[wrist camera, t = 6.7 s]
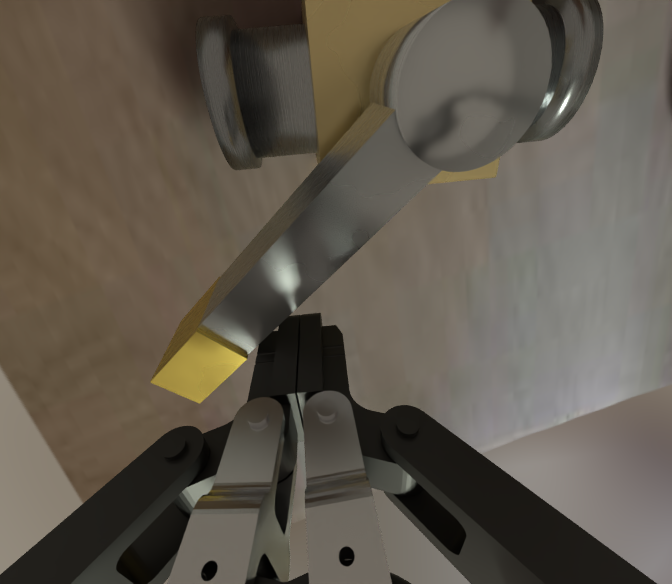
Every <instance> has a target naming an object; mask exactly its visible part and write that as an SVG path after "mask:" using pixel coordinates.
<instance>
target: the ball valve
mask: <svg viewBox="0 0 672 584" xmlns="http://www.w3.org/2000/svg"><path fill="white" fill-rule="evenodd" d="M449 1H451V0H302V21H303V24H295V25H283V26H271V27H259V28H247V29H238V28H237V25H236V23H235V21H234V19H233V17H232V16H231V15H223V16H210V17H200V18H199V19H198V21H197V25H196V49H197V58H198V65H199V72H200V77H201V82H202V87H203V92H204V96H205V100H206V104H207V108H208V112H209V115H210V119H211V122H212V125H213V128H214V131H215V134H216V137H217V140H218V142H219V145H220V147H221V150H222V152H223V154H224V156H225V158H226V160H227V162H228V163H229V165H230V166H231V167H232V168H233V169H234V170H244V169H254V168H260V167H261V165H262V158H265V157H276V156H286V155H297V154H307V153H316V157H317V163H318V164H319V163H320V162H321V161H322V160H323V158H324V157H325V156H326V155H327V154H328V153H329V151H330V150H331V149H332V148H333V147H334V146H335V145H336V143H337V142H338V141H339V140H340V139H341V138H342V137H343V135H344V134H345V133H346V132H347V131H348V130H349V128H350V127H351V126H352V125H353V124H354V123H355V122H356V120H357V119H358V118H359V117H360V116H361V115H362V114H363V112H364V111H365V110H366V109H367V108H368V107H369V105H370V93H369V90H370V80H371V75H372V71H373V68H374V65H375V62H376V60H377V58H378V56H379V54H380V52H381V50H382V49H383V47H384V46H385V44H386V43H387V42H388V40H389V39H390V38H391V37H392V36H393V35H394V34H395V33H396V32H397V31H399V30H400V29H401V28H403V27H404V26H406V25H407V24H409V23H411V22H413V21H414V20H416V19H418V18H420V17H422V16H423V15H425V14H427V13H429V12H431V11H433V10H434V9H436V8H438V7H440V6H442V5H443V4H445V3H447V2H449ZM530 1H531V2H532V3H533V4H534V5H535V6H536V8H537V9H538V10H539V12H540V13H541V15H542V17H543V19H544V20H545V23H546V26H547V28H548V31H549V36H550V41H551V50H552V66H551V73H550V79H549V84H548V88H547V91H546V94H545V97H544V100H543V102H542V105H541V107H540V109H539V111H538V113H537V115H536V117H535V119H534V120H533V122H532V124H531V125H530V126H529V128H528V129H527V131H526V132H525V133H524V135H523V136H522V137H521V138H520V139H519V141H518V142H517V143H522V142H532V141H542V140H545V139H548V138H550V137H552V136H553V135H555V134H556V133H558V132H559V131H560V130H561V129H562V128H563V127H565V125H566V124H567V123H568V122H569V121H570V120H571V119H572V117H573V116H574V115H575V113H576V112H577V110H578V109H579V107H580V106H581V104H582V102H583V101H584V99H585V97H586V95H587V93H588V91H589V89H590V86H591V84H592V82H593V79H594V76H595V73H596V70H597V67H598V63H599V59H600V55H601V49H602V42H603V18H602V12H601V8H600V5H599V2H598V0H530ZM499 160H500V157H499V158H497V159H496V160H494V161H493V162H491V163H489V164H487V165H485V166H482V167H480V168H477V169H474V170H470V171H464V172H448V171H443V170H442V171H441V172H440V173H439V174H438V175H437V176H436V177H435V178H434V179H432V180H431V181H430V182H429V183H428V184H434V183H444V182H454V181H464V180H474V179H484V178H494V177H496V174H497V169H498V165H499Z"/></svg>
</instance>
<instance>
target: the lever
mask: <svg viewBox="0 0 672 584" xmlns="http://www.w3.org/2000/svg"><path fill="white" fill-rule="evenodd" d="M551 66H552V50H551V41H550V36H549V31H548V28H547V26H546V23H545V20H544V19H543V17H542V15H541V13H540V12H539V10H538V9H537V8H536V6H535V5H534V4H533V3H532V2H531V1H530V0H451V1H449V2H447V3H445V4H443V5H442V6H440V7H438V8H436V9H434V10H433V11H431V12H429V13H427V14H425V15H423V16H422V17H420V18H418V19H416V20H414V21H413V22H411V23H409V24H407V25H406V26H404V27H403V28H401V29H400V30H399V31H397V32H396V33H395V34H394V35H393V36H392V37H391V38H390V39H389V40H388V42H387V43H386V44H385V46H384V47H383V49H382V50H381V52H380V54H379V56H378V58H377V60H376V62H375V65H374V68H373V71H372V75H371V80H370V90H369V93H370V105H369V107H368V108H367V109H366V110H365V111H364V112H363V114H362V115H361V116H360V117H359V118H358V119H357V120H356V122H355V123H354V124H353V125H352V126H351V127H350V128H349V130H348V131H347V132H346V133H345V134H344V135H343V137H342V138H341V139H340V140H339V141H338V142H337V143H336V145H335V146H334V147H333V148H332V149H331V150H330V151H329V153H328V154H327V155H326V156H325V157H324V158H323V160H322V161H321V162H320V163H319V164H318V165H317V166H316V168H315V169H314V170H313V171H312V172H311V173H310V175H309V176H308V177H307V178H306V179H305V180H304V181H303V183H302V184H301V185H300V186H299V187H298V188H297V189H296V191H295V192H294V193H293V194H292V195H291V196H290V198H289V199H288V200H287V201H286V202H285V203H284V204H283V206H282V207H281V208H280V209H279V210H278V211H277V212H276V214H275V215H274V216H273V217H272V218H271V219H270V221H269V222H268V223H267V224H266V225H265V226H264V227H263V229H262V230H261V231H260V232H259V233H258V234H257V236H256V237H255V238H254V239H253V240H252V241H251V242H250V244H249V245H248V246H247V247H246V248H245V249H244V250H243V252H242V253H241V254H240V255H239V256H238V257H237V259H236V260H235V261H234V262H233V263H232V264H231V265H230V267H229V268H228V269H227V270H226V271H225V272H224V273H223V275H222V276H221V277H219V278H218V279H217V280H216V281H215V282H214V284H213V285H212V286H211V287H210V288H209V289H208V291H207V292H206V293H205V294H204V295H203V296H202V297H201V299H200V300H199V301H198V302H197V303H196V304H195V306H194V307H193V308H192V309H191V310H190V311H189V312H188V314H187V315H186V316H185V317H184V318H183V319H182V321H181V322H180V324H179V326H178V328H177V330H176V332H175V334H174V336H173V338H172V340H171V342H170V344H169V346H168V348H167V350H166V352H165V354H164V356H163V358H162V360H161V362H160V364H159V366H158V368H157V370H156V372H155V373H154V375H153V377H152V379H151V381H150V382H151V383H153V384H155V385H158V386H160V387H162V388H165V389H167V390H169V391H172V392H174V393H176V394H179V395H181V396H183V397H186V398H188V399H190V400H193V401H195V402H197V403H201V402H202V401H203V400H204V399H205V398H206V397H207V396H208V395H210V394H211V393H212V392H213V391H214V390H215V389H216V388H217V387H218V386H219V385H220V384H221V383H222V382H223V381H224V380H225V379H227V378H228V377H229V376H230V375H231V374H232V373H233V372H234V371H235V370H236V369H237V368H238V367H239V366H240V365H241V364H242V363H243V362H245V361H246V360H247V357H248V354H249V353H250V352H251V351H252V350H253V349H254V348H255V347H257V346H258V345H259V344H260V343H261V342H262V341H263V340H264V339H265V338H266V337H267V336H268V335H269V334H270V333H271V332H272V331H273V330H274V329H276V328H277V327H278V326H279V325H280V324H281V323H282V322H283V321H284V320H285V319H286V318H287V317H288V316H289V315H290V314H291V313H292V312H293V311H294V310H296V309H297V308H298V307H299V306H300V305H301V304H302V303H303V302H304V301H305V300H306V299H307V298H308V297H309V296H310V295H311V294H312V293H313V292H314V291H316V290H317V289H318V288H319V287H320V286H321V285H322V284H323V283H324V282H325V281H326V280H327V279H328V278H329V277H330V276H331V275H332V274H333V273H335V272H336V271H337V270H338V269H339V268H340V267H341V266H342V265H343V264H344V263H345V262H346V261H347V260H348V259H349V258H350V257H351V256H352V255H353V254H355V253H356V252H357V251H358V250H359V249H360V248H361V247H362V246H363V245H364V244H365V243H366V242H367V241H368V240H369V239H370V238H371V237H372V236H373V235H375V234H376V233H377V232H378V231H379V230H380V229H381V228H382V227H383V226H384V225H385V224H386V223H387V222H388V221H389V220H390V219H391V218H392V217H393V216H395V215H396V214H397V213H398V212H399V211H400V210H401V209H402V208H403V207H404V206H405V205H406V204H407V203H408V202H409V201H410V200H411V199H412V198H414V197H415V196H416V195H417V194H418V193H419V192H420V191H421V190H422V189H423V188H424V187H425V186H426V185H427V184H428V183H429V182H430V181H431V180H432V179H434V178H435V177H436V176H437V175H438V174H439V173H440V172H441V171H442V170H443V171H448V172H464V171H470V170H474V169H477V168H480V167H482V166H485V165H487V164H489V163H491V162H493V161H494V160H496V159H497V158H499V157H501V156H502V155H503V154H504V153H506V152H507V151H508V150H509V149H511V148H512V147H513V146H514V145H515V144H516V143H517V142H518V141H519V139H520V138H521V137H522V136H523V135H524V133H525V132H526V131H527V129H528V128H529V126H530V125H531V124H532V122H533V120H534V119H535V117H536V115H537V113H538V111H539V109H540V107H541V105H542V102H543V100H544V97H545V94H546V91H547V88H548V84H549V79H550V73H551Z"/></svg>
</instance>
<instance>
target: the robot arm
mask: <svg viewBox="0 0 672 584" xmlns="http://www.w3.org/2000/svg"><path fill="white" fill-rule="evenodd" d="M255 363H256V365H255V367H254V372H253V377H252V382H251V386H250V391H249V396H248V401H247V403H246V404H244V405H243V406H242V407H241V408H240V409H239V410H238V412H237V414H236V415H235V418H234V420H232V421H231V422H229V423H228V424H226V425H224V426H221V427H219V428H216V429H214V430H211V431H209V432H206V433H203V434H202V433H201V431H200V430H199V429H197V428H196V427H193V426H182V427H178V428H175V429H173V430H171V431H169V432H168V433H166V434H165V435H163V436H162V437H161V438H160V439H158V440H157V441H156V442H155V443H154V444H153V445H151V446H150V447H149V448H148V449H147V450H146V451H144V452H143V453H142V454H141V455H140V456H139V457H137V458H136V459H135V460H134V461H133V462H131V463H130V464H129V465H128V466H127V467H126V468H124V469H123V470H122V471H121V472H120V473H119V474H117V475H116V476H115V477H114V478H113V479H112V480H110V481H109V482H108V483H107V484H106V485H105V486H103V487H102V488H101V489H100V490H99V491H98V492H96V493H95V494H94V495H93V496H92V497H91V498H89V499H88V500H87V501H86V502H85V503H84V504H82V505H81V506H80V507H79V508H78V509H77V510H75V511H74V512H73V513H72V514H71V515H70V516H68V517H67V518H66V519H65V520H64V521H63V522H61V523H60V524H59V525H58V526H57V527H56V528H54V529H53V530H52V531H51V532H50V533H48V534H47V535H46V536H45V537H44V538H43V539H41V540H40V541H39V542H38V543H37V544H36V545H35V546H33V547H32V548H31V549H30V550H29V551H28V552H26V553H25V554H24V555H23V556H22V557H20V558H19V559H18V560H17V561H16V562H15V563H13V564H12V565H11V566H10V567H9V568H8V569H6V570H5V571H4V572H3V573H2V574H1V575H0V584H163V583H164V582H165V581H166V580H167V579H168V577H169V576H170V577H169V580H168V583H167V584H411V583H409V582H408V581H406V580H404V579H403V578H401V577H399V576H397V575H395V574H392V573H390V572H389V567H388V563H387V558H386V554H385V549H384V544H383V540H382V535H381V530H380V526H379V522H378V517H377V512H376V508H375V503H374V498H373V494H372V489H371V488H375V489H378V490H382V491H384V493H385V494H386V496H387V497H388V498H389V499H390V500H391V501H392V502H393V503H394V504H395V505H396V506H397V507H398V509H400V511H401V512H402V513H403V514H404V515H405V516H406V517H407V518H408V519H409V520H410V521H411V522H412V523H413V524H414V525H415V526H416V527H417V528H418V529H419V530H420V531H421V532H422V533H423V534H424V535H425V536H426V537H427V539H429V541H430V542H431V543H432V544H433V545H434V546H435V547H436V548H437V549H438V550H439V551H440V552H441V553H442V554H443V555H444V556H445V557H446V558H447V559H448V560H449V561H450V562H451V563H452V564H453V565H454V567H456V568H457V570H458V571H459V572H460V573H461V574H462V575H463V576H464V577H465V578H466V579H467V580H468V581H469V582H470V583H471V584H657V583H655V582H654V581H653V580H651V579H650V578H648V577H647V576H646V575H644V574H643V573H642V572H640V571H639V570H637V569H636V568H635V567H634V566H632V565H631V564H630V563H628V562H627V561H625V560H624V559H623V558H621V557H620V556H618V555H617V554H616V553H615V552H613V551H612V550H610V549H609V548H608V547H606V546H605V545H604V544H602V543H601V542H600V541H598V540H597V539H596V538H594V537H593V536H592V535H590V534H588V533H587V532H586V531H585V530H583V529H582V528H581V527H579V526H578V525H577V524H575V523H574V522H573V521H571V520H570V519H568V518H567V517H566V516H564V515H563V514H562V513H560V512H559V511H558V510H556V509H555V508H553V507H552V506H551V505H549V504H548V503H547V502H545V501H544V500H543V499H541V498H540V497H538V496H537V495H536V494H534V493H533V492H532V491H530V490H529V489H528V488H526V487H525V486H524V485H522V484H521V483H520V482H518V481H517V480H515V479H514V478H513V477H511V476H510V475H509V474H507V473H506V472H505V471H503V470H502V469H501V468H499V467H498V466H496V465H495V464H494V463H492V462H491V461H490V460H488V459H487V458H486V457H484V456H483V455H482V454H480V453H479V452H477V451H476V450H475V449H473V448H472V447H471V446H469V445H468V444H467V443H465V442H464V441H463V440H461V439H460V438H458V437H457V436H456V435H454V434H453V433H452V432H450V431H449V430H448V429H446V428H445V427H444V426H442V425H441V424H439V423H438V422H437V421H435V420H434V419H433V418H431V417H430V416H429V415H427V414H426V413H425V412H423V411H422V410H420V409H418V408H416V407H413V406H408V405H400V406H396V407H393V408H391V409H390V410H388V411H387V412H386V413H380V412H375V411H371V410H367V409H365V408H363V407H361V406H360V405H358V404H357V403H356V402H355V401H354V400H353V398H352V397H351V394H350V391H349V384H348V376H347V367H346V359H345V351H344V342H343V334H342V333H341V331H340V330H339V329H338V327H337V326H336V325H332V326H322V319H321V313H314V314H304V315H294V316H288V317H287V318H286V319H285V320H284V321H283V322H282V323H281V324H280V325H279V329H278V331H272V332H271V333H270V334H269V335H268V336H267V337H266V338H265V339H264V340H263V341H262V342H261V343H260V344H259V347H258V352H257V357H256V362H255ZM302 441H304V446H305V463H306V481H307V487H306V490H305V512H306V531H307V549H308V550H307V552H308V571H309V572H308V573H306V574H304V575H302V576H300V577H297V578H295V579H293V580H291V581H289V572H290V546H289V539H290V527H291V518H292V509H293V501H294V492H295V483H296V474H297V461H296V460H297V442H302Z"/></svg>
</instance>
